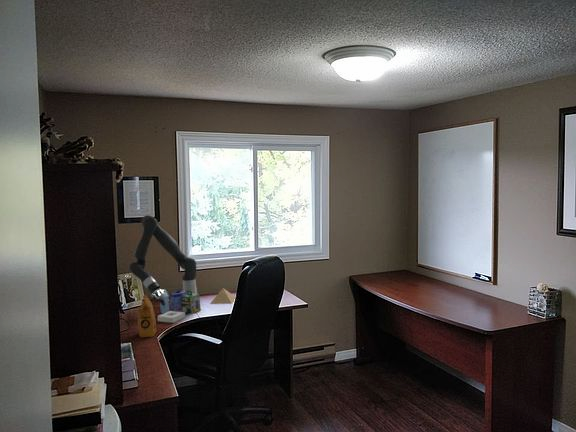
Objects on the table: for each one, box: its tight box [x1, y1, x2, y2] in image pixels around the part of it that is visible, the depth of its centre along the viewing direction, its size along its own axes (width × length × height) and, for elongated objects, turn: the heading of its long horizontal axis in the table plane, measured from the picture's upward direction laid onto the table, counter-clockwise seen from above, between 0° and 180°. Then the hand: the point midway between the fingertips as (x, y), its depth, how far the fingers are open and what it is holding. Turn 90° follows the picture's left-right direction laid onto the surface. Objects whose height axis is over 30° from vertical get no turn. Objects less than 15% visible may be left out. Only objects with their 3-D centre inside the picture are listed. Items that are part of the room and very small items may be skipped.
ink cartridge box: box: [169, 289, 186, 312], centre depth 307 cm, size 10×6×14 cm, turn 135°
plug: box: [159, 292, 171, 314], centre depth 297 cm, size 4×4×13 cm
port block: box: [157, 310, 186, 324], centre depth 285 cm, size 12×12×4 cm
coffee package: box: [137, 294, 157, 339], centre depth 257 cm, size 10×12×22 cm
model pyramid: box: [209, 288, 236, 305], centre depth 327 cm, size 17×17×10 cm
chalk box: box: [181, 290, 201, 315], centre depth 302 cm, size 9×9×15 cm
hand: (166, 303), depth 296 cm, fingers closed on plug, 4 cm apart
